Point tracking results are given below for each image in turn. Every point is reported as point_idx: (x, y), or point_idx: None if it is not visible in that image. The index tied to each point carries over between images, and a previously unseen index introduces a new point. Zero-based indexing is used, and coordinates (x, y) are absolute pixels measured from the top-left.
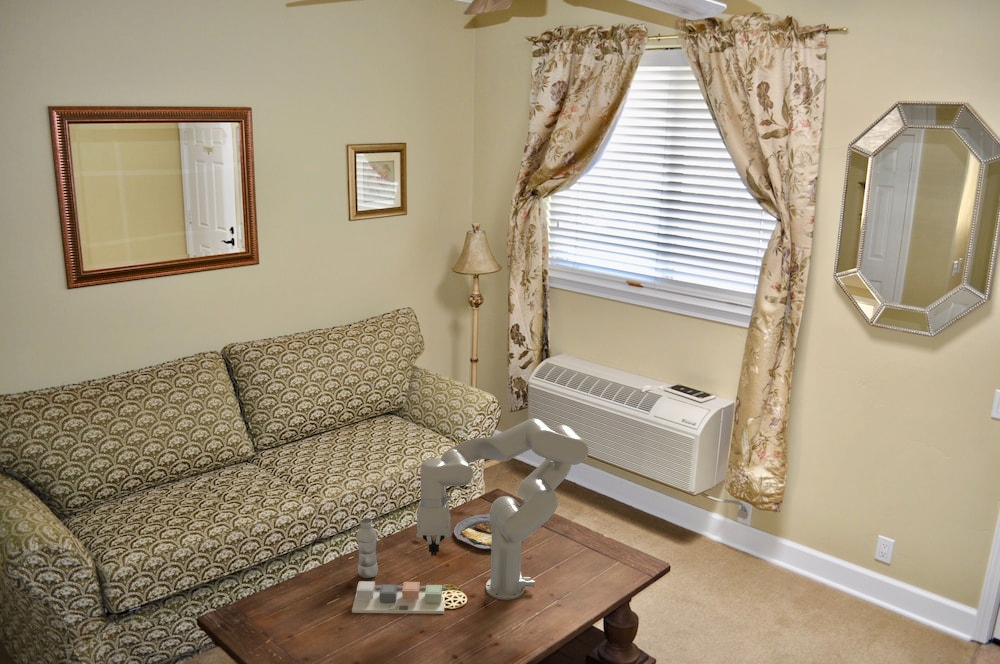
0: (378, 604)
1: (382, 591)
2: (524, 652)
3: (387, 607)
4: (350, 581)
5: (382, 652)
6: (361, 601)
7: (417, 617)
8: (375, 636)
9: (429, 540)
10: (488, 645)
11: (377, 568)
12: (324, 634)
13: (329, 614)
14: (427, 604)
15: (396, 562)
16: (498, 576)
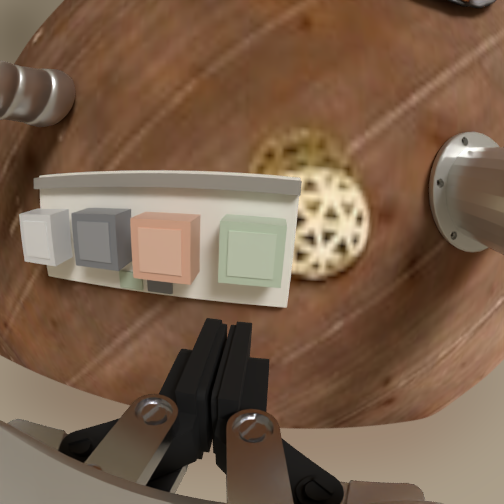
0: None
1: (80, 257)
2: (426, 413)
3: (117, 276)
4: (30, 136)
5: None
6: None
7: (206, 312)
8: (121, 362)
9: (159, 482)
10: (372, 406)
11: (64, 96)
12: (39, 334)
13: (23, 273)
14: None
15: (133, 21)
16: (492, 245)
